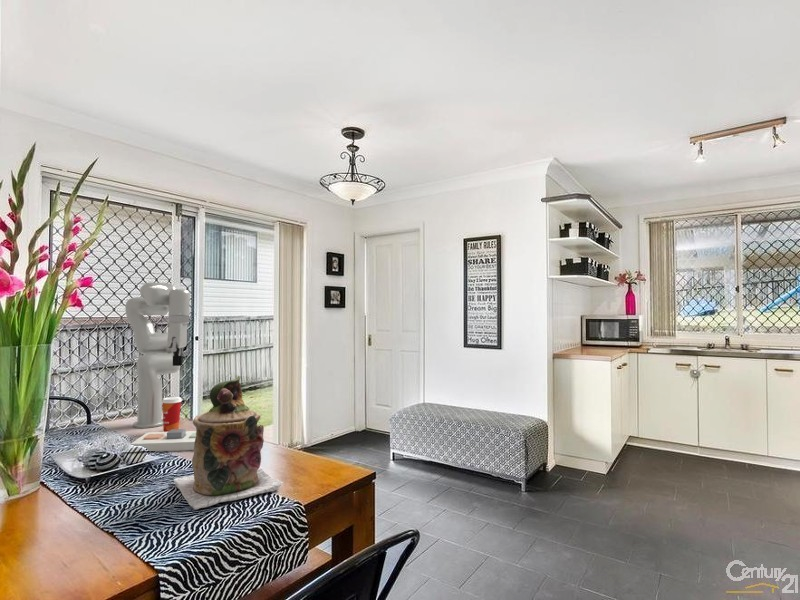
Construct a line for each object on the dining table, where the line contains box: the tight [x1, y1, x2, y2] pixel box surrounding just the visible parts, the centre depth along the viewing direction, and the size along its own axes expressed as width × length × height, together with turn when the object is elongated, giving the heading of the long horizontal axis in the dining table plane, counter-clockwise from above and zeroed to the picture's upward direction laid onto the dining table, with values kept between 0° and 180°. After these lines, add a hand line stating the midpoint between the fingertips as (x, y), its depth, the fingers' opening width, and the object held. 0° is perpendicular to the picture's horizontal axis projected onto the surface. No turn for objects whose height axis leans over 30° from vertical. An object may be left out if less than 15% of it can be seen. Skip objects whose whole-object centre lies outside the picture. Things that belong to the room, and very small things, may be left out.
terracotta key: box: [144, 434, 164, 440], centre depth 170 cm, size 5×5×2 cm
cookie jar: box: [173, 375, 283, 511], centre depth 131 cm, size 25×25×32 cm
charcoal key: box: [167, 428, 187, 439], centre depth 171 cm, size 5×5×2 cm
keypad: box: [129, 430, 196, 452], centre depth 171 cm, size 16×26×3 cm, turn 100°
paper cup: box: [162, 396, 183, 432], centre depth 189 cm, size 8×8×14 cm
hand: (177, 365), depth 180 cm, fingers closed
